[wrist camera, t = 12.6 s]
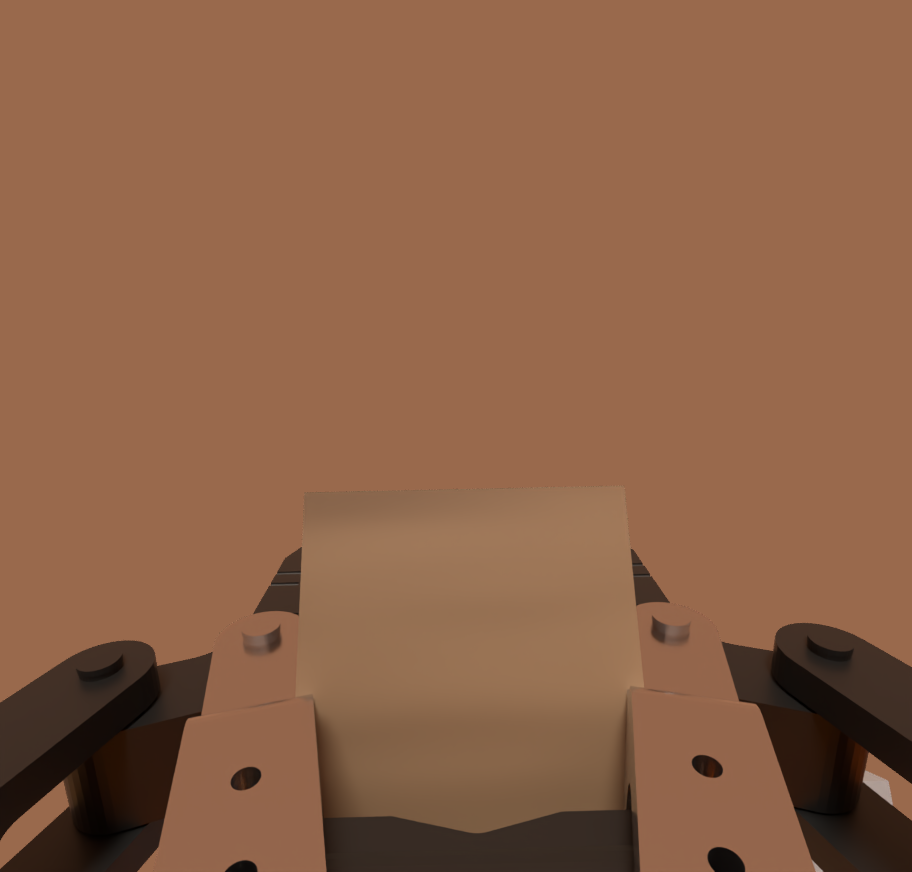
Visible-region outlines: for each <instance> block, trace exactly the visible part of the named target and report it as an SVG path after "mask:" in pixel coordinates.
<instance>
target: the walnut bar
mask: <svg viewBox="0 0 912 872" xmlns="http://www.w3.org/2000/svg"><path fill="white" fill-rule="evenodd" d="M624 488H625V487H624V486H595V487H594V486H593V487H592V486H591V487H550V488H549V487H546V488H497V489H451V490H404V491H357V492H315V493H314V492H312V493H304V515H303V538H302V559H301V581H300V604H299V626H298V648H297V671H296V693H295V697H298V696H303V695H309V694H313V699H314V710H315V722H316V733H317V744H318V756H319V767H320V778H321V790H322V801H323V812H324V818H339V817H375V816H394V817H398V818H403V819H408V820H413V821H417V822H422V823H427V824H431V825H436V826H441V827H446V828H450V829H455V830H460V831H464V832H469V833H484V832H489V831H492V830H496V829H500V828H503V827H507V826H510V825H514V824H518V823H521V822H525V821H529V820H532V819H536V818H540V817H543V816H547V815H551V814H554V813H558V812H562V811H596V810H623V797H624V767H625V737H626V708H627V689H629V688H630V686H635V687H642V688H644V681H643V671H642V661H641V651H640V640H639V630H638V620H637V610H636V600H635V589H634V579H633V569H632V559H631V549H630V539H629V528H628V518H627V508H626V498H625V489H624Z"/></svg>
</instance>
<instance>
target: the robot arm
mask: <svg viewBox="0 0 912 872" xmlns="http://www.w3.org/2000/svg"><path fill="white" fill-rule="evenodd" d="M630 549H631V548H630ZM301 559H302V547H301V548H300V549H298V550H297V551H295V552H294V553H292V554H291V555H289V556H288V557H287V558H285V560H284V561H283V563H282V565H281V567H280V568H279V570H278V572H277V574H276V575H275V577H274V579H273V580H272V582H271V586H269V587H268V589H267V591H266V593H265V594H264V596H263V598H262V599H261V601H260V603H259V605H258V606H257V608H256V610H255V612H254V614H253V615H249V616H246V617H244V618H241V619H239V620H237V621H235V622H233V623H231V624H230V625H228V626H227V627H226V628H224V629H223V630H222V631H221V632H220V633H219V635H218V636H217V638H216V640H215V643H214V648H213V652H211V653H209V654H206V655H203V656H200V657H196V658H192V659H188V660H183V661H179V662H174V663H169V664H165V665H161V666H157V662H156V657H155V652H154V650H153V648H152V647H151V646H149V645H148V644H146V643H143V642H138V641H116V642H110V643H106V644H102V645H98V646H95V647H92V648H89V649H87V650H84V651H82V652H80V653H78V654H75V655H74V656H72V657H70V658H68V659H67V660H65V661H64V662H62V663H60V664H59V665H57V666H56V667H54V668H53V669H51V670H50V671H48V672H47V673H45V674H44V675H42V676H41V677H39V678H37V679H36V680H34V681H33V682H31V683H30V684H28V685H27V686H25V687H24V688H22V689H21V690H19V691H18V692H16V693H15V694H13V695H12V696H10V697H8V698H7V699H5V700H4V701H3V702H1V703H0V840H1V838H2V837H3V835H4V834H5V832H6V831H7V830H8V829H9V827H10V826H11V825H12V824H13V823H14V822H15V821H16V820H17V819H18V818H19V817H21V816H22V815H23V814H24V813H25V812H26V811H28V810H29V809H30V808H31V807H32V806H33V805H35V804H36V803H37V802H38V801H39V800H40V799H41V798H43V797H44V796H45V795H46V794H47V793H49V792H50V791H51V790H52V789H53V788H54V787H55V786H57V785H58V784H59V783H60V782H62V781H64V785H65V790H66V794H67V798H68V802H69V807H68V808H67V809H66V810H65V811H64V812H63V813H61V814H60V815H59V816H58V817H57V818H56V819H55V820H54V821H53V822H52V823H50V824H49V825H48V826H47V827H46V828H45V829H44V830H43V831H42V832H41V833H39V834H38V835H37V836H36V837H35V838H34V839H33V840H32V841H31V842H30V843H28V844H27V845H26V846H25V847H24V848H23V849H22V850H21V851H20V852H19V853H17V854H16V856H14V857H13V858H12V859H11V860H10V861H9V862H8V863H6V864H5V865H4V866H3V867H2V868H1V869H0V872H137V871H138V870H139V869H140V868H141V866H142V865H143V864H144V863H145V862H146V861H147V860H148V858H149V857H150V856H151V855H152V854H153V853H154V851H155V850H156V849H157V848H158V852H157V857H156V861H155V866H154V871H153V872H816V871H815V868H814V865H813V862H814V863H815V864H816V865H817V866H818V867H819V868H820V869H821V870H822V871H823V872H912V821H911V820H910V819H909V818H907V817H906V816H905V815H904V814H902V813H901V812H900V811H898V810H897V809H896V808H895V807H894V806H892V805H891V804H890V803H889V802H887V801H886V800H885V799H884V798H882V797H881V796H880V795H879V794H877V793H876V792H875V791H874V790H872V789H871V788H870V787H869V786H867V785H866V784H865V783H864V782H863V778H864V773H865V768H866V763H867V758H868V753H869V752H870V753H871V754H872V755H874V756H875V757H876V758H878V759H879V760H881V761H882V762H883V763H884V764H886V765H887V766H888V767H890V768H891V769H892V770H894V771H896V772H897V773H898V774H899V775H901V776H902V777H903V778H905V779H906V780H907V781H909V782H910V783H911V784H912V667H910V666H908V665H907V664H905V663H903V662H902V661H900V660H898V659H896V658H895V657H893V656H891V655H889V654H888V653H886V652H884V651H882V650H881V649H879V648H877V647H875V646H874V645H872V644H870V643H868V642H866V641H865V640H863V639H861V638H859V637H857V636H855V635H853V634H851V633H848V632H845V631H843V630H840V629H837V628H833V627H829V626H825V625H819V624H812V623H796V624H790V625H787V626H784V627H782V628H780V629H779V630H778V631H777V633H776V636H775V642H774V649H773V651H769V650H763V649H757V648H751V647H745V646H738V645H733V644H729V643H724V642H721V639H720V636H719V633H718V630H717V628H716V626H715V625H714V624H713V622H712V621H710V619H708V618H707V617H706V616H704V615H703V614H701V613H699V612H697V611H695V610H693V609H690V608H688V607H685V606H682V605H677V604H673V603H670V602H669V601H668V599H667V598H666V597H665V595H664V594H663V592H662V591H661V589H660V588H659V587H658V585H657V583H656V582H655V581H654V580H653V578H652V577H650V573H649V572H648V570H647V569H646V567H645V566H643V565H642V562H641V560H640V559H639V557H638V556H637V554H636V553H635V552H634V550H632V549H631V559H632V569H633V579H634V589H635V600H636V610H637V620H638V630H639V640H640V651H641V661H642V671H643V681H644V688H642V687H635V686H630V688H629V689H627V708H626V737H625V767H624V797H623V810H596V811H562V812H558V813H554V814H551V815H547V816H543V817H540V818H536V819H532V820H529V821H525V822H521V823H518V824H514V825H510V826H507V827H503V828H500V829H496V830H492V831H489V832H484V833H469V832H464V831H460V830H455V829H450V828H446V827H441V826H436V825H431V824H427V823H422V822H417V821H413V820H408V819H403V818H398V817H394V816H375V817H339V818H324V812H323V801H322V790H321V778H320V767H319V756H318V744H317V733H316V722H315V710H314V699H313V694H309V695H303V696H298V697H295V693H296V671H297V648H298V626H299V604H300V581H301ZM812 861H813V862H812Z"/></svg>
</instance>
